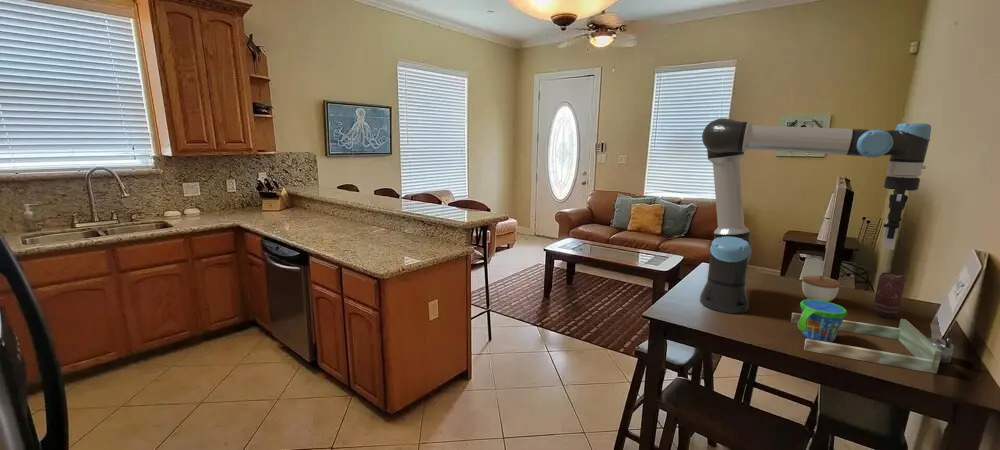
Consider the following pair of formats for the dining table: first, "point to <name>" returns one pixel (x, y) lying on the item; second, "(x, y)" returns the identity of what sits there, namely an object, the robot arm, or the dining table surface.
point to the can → (888, 295)
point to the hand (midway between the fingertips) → (887, 244)
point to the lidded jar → (820, 287)
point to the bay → (906, 334)
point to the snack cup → (820, 319)
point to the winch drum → (944, 348)
